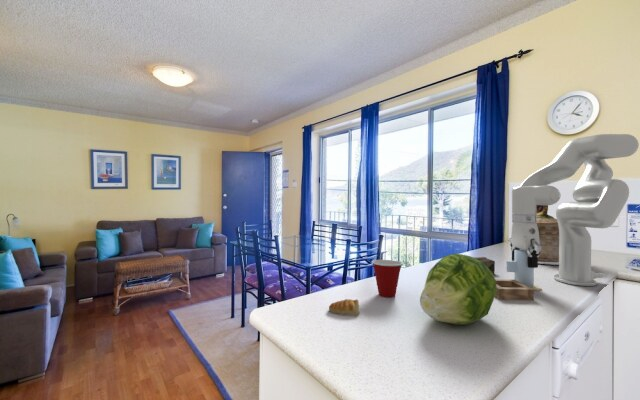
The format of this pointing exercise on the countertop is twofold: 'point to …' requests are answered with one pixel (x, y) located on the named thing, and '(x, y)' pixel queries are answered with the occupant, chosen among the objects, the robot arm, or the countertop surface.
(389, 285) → the plastic cup
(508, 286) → the cradle
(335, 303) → the pastry
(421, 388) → the countertop surface
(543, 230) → the cookie jar
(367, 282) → the countertop surface
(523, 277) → the pale blue pipe tee
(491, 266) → the beverage carton
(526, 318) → the countertop surface
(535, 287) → the mat
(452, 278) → the lettuce
